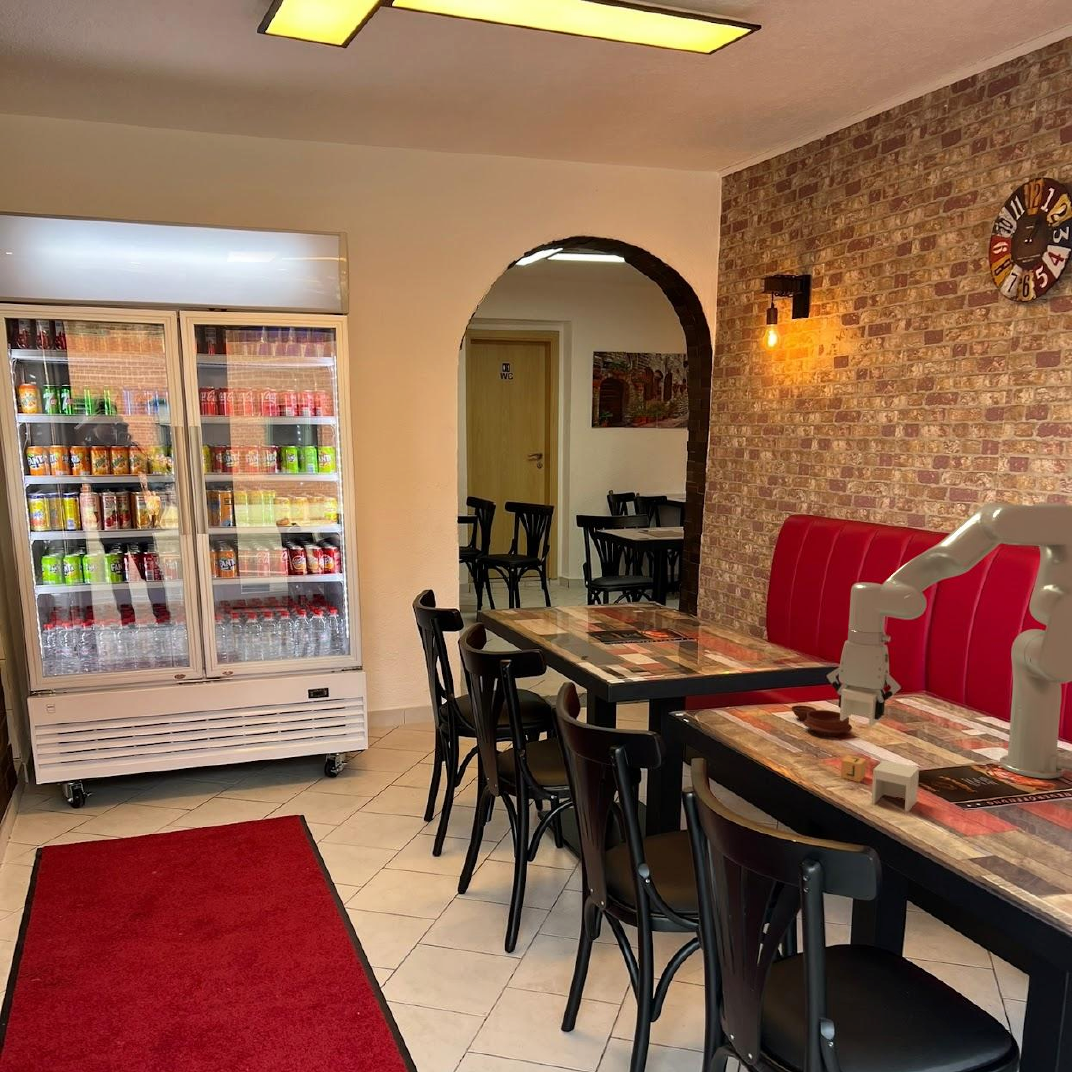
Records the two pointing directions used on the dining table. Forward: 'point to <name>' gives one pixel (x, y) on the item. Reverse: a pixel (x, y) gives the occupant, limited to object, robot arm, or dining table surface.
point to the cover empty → (895, 782)
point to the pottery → (822, 720)
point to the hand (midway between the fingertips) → (860, 714)
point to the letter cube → (853, 768)
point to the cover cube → (858, 703)
